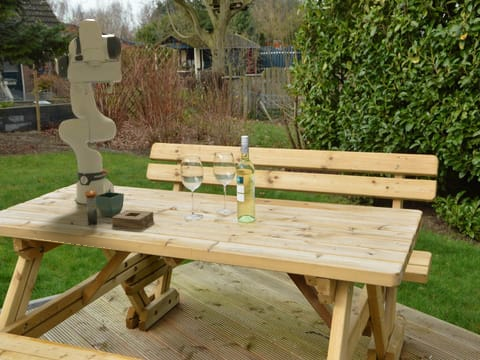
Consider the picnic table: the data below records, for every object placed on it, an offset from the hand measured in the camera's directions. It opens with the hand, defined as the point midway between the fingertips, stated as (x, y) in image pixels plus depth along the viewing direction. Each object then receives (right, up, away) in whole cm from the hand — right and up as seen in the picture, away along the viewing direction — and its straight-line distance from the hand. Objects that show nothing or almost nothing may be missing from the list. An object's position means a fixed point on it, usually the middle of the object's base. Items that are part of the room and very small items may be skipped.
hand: (97, 93), depth 211 cm
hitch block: (+13, -52, +4) cm, 53 cm away
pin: (-3, -52, +5) cm, 52 cm away
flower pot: (+1, -49, +18) cm, 52 cm away
